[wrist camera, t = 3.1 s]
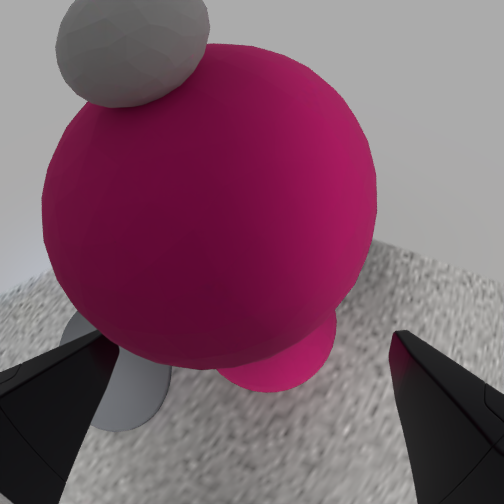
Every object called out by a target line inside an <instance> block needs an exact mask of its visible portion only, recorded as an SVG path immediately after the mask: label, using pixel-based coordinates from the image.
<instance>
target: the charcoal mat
mask: <svg viewBox="0 0 504 504" xmlns="http://www.w3.org/2000/svg"><path fill="white" fill-rule="evenodd" d="M95 330H97V329H96V328H95V327H94V326H93V325H92V324H91V323H90V322H89V321H88V320H87V319H85V318H84V317H83V316H82V315H81V314H80V313H79V312H78V311H77V312H76V313H75V314H74V315H73V317H72V318H71V319H70V321H69V322H68V324H67V326H66V328H65V330H64V332H63V335H62V338H61V341H60V345H59V346H61V345H64V344H66V343H68V342H70V341H72V340H75V339H77V338H79V337H81V336H84V335H86V334H88V333H90V332H92V331H95ZM119 349H120V353H119V357H118V359H117V362H116V365H115V367H114V370H113V373H112V376H111V378H110V381H109V384H108V387H107V389H106V391H105V394H104V396H103V398H102V400H101V402H100V404H99V406H98V409H97V411H96V413H95V415H94V417H93V420H92V422H91V424H90V425H92V426H94V427H96V428H99V429H102V430H105V431H112V432H117V431H126V430H131V429H134V428H136V427H139V426H141V425H142V424H144V423H146V422H147V421H148V420H149V419H151V418H152V417H153V416H154V415H155V413H156V412H157V411H158V410H159V408H160V407H161V405H162V403H163V401H164V399H165V397H166V395H167V392H168V388H169V385H170V379H171V367H172V366H170V365H164V364H158V363H155V362H152V361H150V360H147V359H145V358H142V357H140V356H137V355H135V354H133V353H131V352H129V351H128V350H126V349H124V348H122V347H120V346H119Z"/></svg>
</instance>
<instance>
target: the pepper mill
mask: <svg viewBox="0 0 504 504" xmlns="http://www.w3.org/2000/svg"><path fill="white" fill-rule="evenodd" d="M209 31H210V24H209V19H208V12H207V8H206V6H205V4H204V2H203V1H202V0H75V2H74V3H73V4H72V5H71V6H70V8H69V9H68V11H67V13H66V15H65V16H64V18H63V20H62V22H61V25H60V28H59V32H58V37H57V42H56V47H55V48H56V56H57V63H58V66H59V69H60V72H61V74H62V76H63V78H64V80H65V82H66V83H67V84H68V85H69V86H70V87H71V88H72V90H73V91H74V92H75V93H76V94H77V95H79V96H80V97H82V98H84V99H85V100H87V101H88V102H87V103H86V104H85V105H84V107H83V108H82V109H81V110H80V111H79V112H78V114H77V115H76V116H75V117H74V118H73V120H72V121H71V122H70V123H69V125H68V126H67V127H66V129H65V131H64V133H63V135H62V138H61V139H60V141H59V144H58V146H57V148H56V150H55V152H54V154H53V157H52V159H51V161H50V164H49V166H48V169H47V174H46V179H45V183H44V188H43V193H42V225H43V238H44V243H45V246H46V250H47V253H48V256H49V259H50V262H51V265H52V267H53V270H54V273H55V276H56V278H57V281H58V282H59V284H60V285H61V287H62V288H63V290H64V292H65V293H66V295H67V296H68V298H69V299H70V301H71V302H72V303H73V305H74V306H75V308H76V309H77V310H78V312H79V313H80V314H81V315H82V316H83V317H84V318H85V319H87V320H88V321H89V322H90V323H91V324H92V325H93V326H94V327H95V328H96V329H97V330H99V331H100V332H101V333H102V334H103V335H104V336H105V337H107V338H108V339H109V340H110V341H112V342H114V343H115V344H117V345H119V346H120V347H122V348H124V349H126V350H128V351H129V352H131V353H133V354H135V355H137V356H140V357H142V358H145V359H147V360H150V361H152V362H155V363H158V364H164V365H170V366H176V367H183V368H190V369H197V370H209V369H217V371H218V372H219V373H220V374H221V375H223V376H224V377H225V378H227V379H228V380H229V381H231V382H233V383H235V384H236V385H238V386H240V387H243V388H245V389H249V390H252V391H257V392H265V393H267V392H279V391H285V390H288V389H291V388H294V387H296V386H298V385H300V384H302V383H304V382H306V381H307V380H308V379H310V378H311V377H312V376H313V375H315V374H316V372H317V371H318V370H319V369H320V368H321V367H322V366H323V364H324V363H325V361H326V360H327V358H328V356H329V354H330V352H331V349H332V347H333V343H334V339H335V335H336V323H337V319H336V313H335V309H336V308H337V306H338V305H339V304H340V303H341V301H342V300H343V299H344V298H345V296H346V295H347V294H348V292H349V291H350V290H351V289H352V287H353V286H354V285H355V282H356V280H357V278H358V276H359V273H360V271H361V269H362V267H363V264H364V262H365V260H366V257H367V254H368V251H369V248H370V245H371V241H372V237H373V232H374V225H375V220H376V214H377V190H376V172H375V168H374V164H373V159H372V156H371V152H370V148H369V144H368V141H367V139H366V137H365V135H364V133H363V131H362V129H361V127H360V125H359V123H358V121H357V119H356V117H355V116H354V114H353V113H352V111H351V110H350V108H349V107H348V105H347V104H346V102H345V101H344V99H343V98H342V97H341V96H340V95H339V94H338V93H337V91H336V90H334V88H332V87H331V86H330V85H329V84H328V83H327V82H325V81H324V80H323V79H322V78H321V77H320V76H318V75H317V74H316V73H314V72H313V71H312V70H311V69H310V68H308V67H306V66H305V65H303V64H301V63H299V62H297V61H295V60H293V59H291V58H289V57H286V56H284V55H282V54H278V53H275V52H272V51H268V50H265V49H261V48H257V47H254V46H245V45H232V44H207V39H208V35H209Z"/></svg>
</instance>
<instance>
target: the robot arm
mask: <svg viewBox="0 0 504 504" xmlns="http://www.w3.org/2000/svg"><path fill="white" fill-rule="evenodd" d="M119 353H120V349H119V345H117V344H115V343H114V342H112V341H110V340H109V339H108V338H107V337H105V336H104V335H103V334H102V333H101V332H100V331H99V330H95V331H92V332H90V333H88V334H86V335H84V336H81V337H79V338H77V339H75V340H72V341H70V342H68V343H66V344H64V345H61V346H59V347H57V348H55V349H52V350H50V351H48V352H46V353H43V354H41V355H39V356H37V357H34V358H32V359H30V360H28V361H25V362H23V363H22V364H19V365H16V366H14V367H12V368H9V369H7V370H5V371H2V372H0V504H59V501H60V498H61V495H62V493H63V490H64V487H65V485H66V482H67V479H68V476H69V474H70V471H71V469H72V466H73V464H74V461H75V459H76V457H77V454H78V452H79V449H80V447H81V445H82V442H83V440H84V438H85V435H86V433H87V431H88V429H89V426H90V424H91V422H92V420H93V417H94V415H95V413H96V411H97V409H98V406H99V404H100V402H101V400H102V398H103V396H104V394H105V391H106V389H107V387H108V384H109V381H110V378H111V376H112V373H113V370H114V367H115V365H116V362H117V359H118V357H119ZM389 364H390V370H391V376H392V382H393V389H394V395H395V401H396V406H397V410H398V413H399V417H400V421H401V425H402V429H403V433H404V437H405V442H406V446H407V450H408V455H409V460H410V464H411V469H412V474H413V480H414V485H415V491H416V496H417V502H418V504H504V394H502V393H501V392H499V391H498V390H496V389H495V388H493V387H492V386H490V385H489V384H487V383H485V382H484V381H483V380H481V379H480V378H478V377H477V376H475V375H474V374H472V373H471V372H469V371H468V370H467V369H465V368H464V367H462V366H461V365H459V364H458V363H456V362H455V361H453V360H452V359H450V358H449V357H447V356H446V355H444V354H443V353H441V352H440V351H438V350H437V349H435V348H434V347H432V346H431V345H429V344H428V343H426V342H424V341H423V340H421V339H420V338H418V337H417V336H415V335H414V334H412V333H411V332H409V331H408V330H400V331H395V332H394V333H393V336H392V340H391V345H390V350H389Z"/></svg>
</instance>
